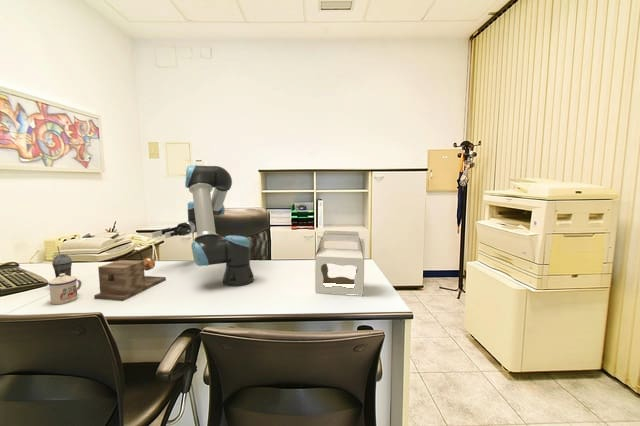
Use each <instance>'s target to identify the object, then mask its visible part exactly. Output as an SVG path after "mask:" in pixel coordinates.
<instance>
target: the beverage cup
mask: <svg viewBox="0 0 640 426" xmlns="http://www.w3.org/2000/svg"><path fill="white" fill-rule="evenodd" d="M56 248H57V252H58V255H56V256H55V257H54V258H53V259H52V267H53V271H54V274H55V278H56V277H59V274H62V273H65V275H68V276H72V263H73V260H72V258H71V257H70V256H69V255H67V254H61V251H60V246H59V245H57V246H56Z"/></svg>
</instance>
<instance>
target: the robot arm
mask: <svg viewBox="0 0 640 426" xmlns="http://www.w3.org/2000/svg"><path fill="white" fill-rule="evenodd" d="M232 179H233V178H232V175H230V173H229V172H228V171H227V169H225V168H224V167H222V166H219V165H196V164H195V165H188V166H187V167H186V173H185V181H184V183H185V188H187V189H188V191H189V192H190V193H191V194H192V200H193V201H189V202H188V203H187V221H185V222H181V223H178V224H177V225H176V226H174V227H168V228H162V229H158V230H156V231H154V232H151V233H152V235H151V236H152V238H153V239H154V238H158V237H162V236H164V238H165V239H168V238H172V237H177V236H179V237H180V236H182V237H184V236H186V235H190V234H193V233H196V235H197V236H195V238H194V241H193V242H191V254H192V256H193V259H194V260H193V261H194V263H195V264H196V266H198V267H204V266H206V267H209V266H212V265H213V266H214V265H219V264H225V270H224V273H223V277H222V284H223V285H225V286H229V287H239V286H240V287H241V286H246V285H248V284H251V283H253V282H254V280H255V277H254V273H253V271H252V267H251V265H250V264H251V262H250V261H251V259H250V258H251V257H250V256H251V255H250V250H251V249H250V247H251V246H250V240H249V238H248V237H247V236H244V235H243V236H242V235H226V236H225V237H224V239H221V237H220V234H218V233H216V226H215V218H214V216H217V217H219V216H224V215H225V212H226V211H225V210H226V209H225V205H224V203H225V199H226V197H227V193H228V191H229V190H231V188H232V184H233V180H232ZM213 188H214V189H213ZM211 192H213V193H212V196H211Z"/></svg>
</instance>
